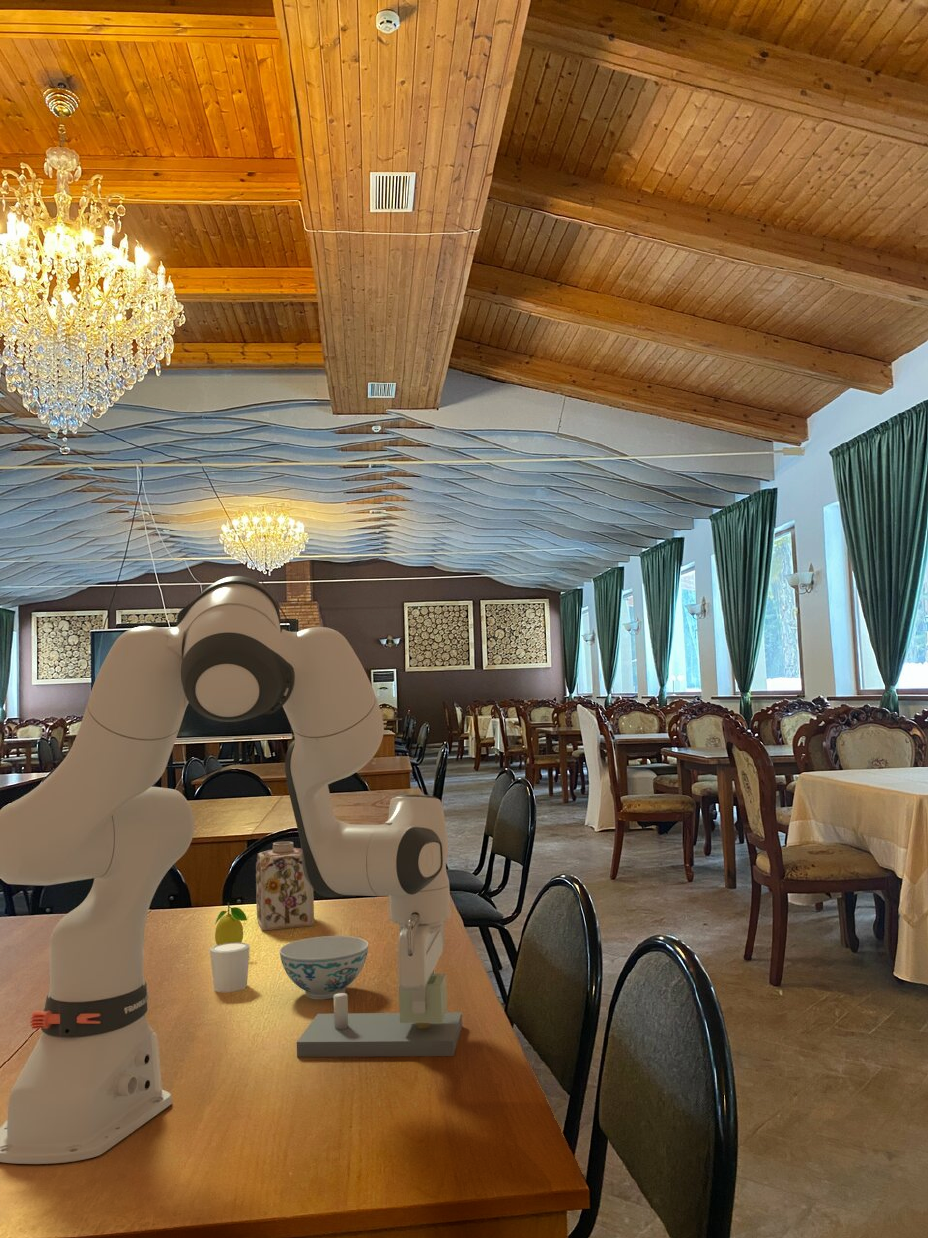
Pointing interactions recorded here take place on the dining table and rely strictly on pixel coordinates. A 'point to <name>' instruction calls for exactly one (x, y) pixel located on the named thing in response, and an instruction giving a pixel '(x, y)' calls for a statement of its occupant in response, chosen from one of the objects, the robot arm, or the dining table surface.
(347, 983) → the chinaware
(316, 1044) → the stand board
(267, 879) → the decorative jar
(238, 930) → the lemon
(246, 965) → the shot glass
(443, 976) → the collar block
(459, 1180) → the dining table surface
